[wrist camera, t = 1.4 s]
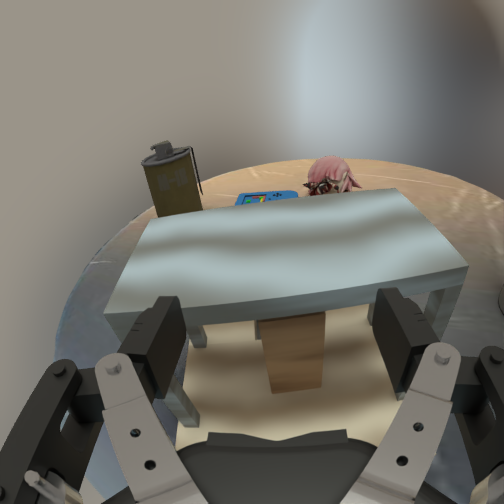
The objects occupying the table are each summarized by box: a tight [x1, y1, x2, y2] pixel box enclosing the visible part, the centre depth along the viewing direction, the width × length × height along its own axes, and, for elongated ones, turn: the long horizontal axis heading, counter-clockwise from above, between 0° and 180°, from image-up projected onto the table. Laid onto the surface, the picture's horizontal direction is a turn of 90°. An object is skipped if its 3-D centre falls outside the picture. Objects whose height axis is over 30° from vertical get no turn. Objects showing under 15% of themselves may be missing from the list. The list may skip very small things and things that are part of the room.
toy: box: [302, 156, 362, 196], centre depth 64 cm, size 12×11×15 cm
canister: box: [141, 141, 203, 218], centre depth 61 cm, size 11×10×20 cm
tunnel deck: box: [103, 188, 469, 455], centre depth 27 cm, size 28×24×20 cm
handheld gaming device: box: [235, 191, 298, 206], centre depth 73 cm, size 8×1×15 cm
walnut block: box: [258, 311, 326, 394], centre depth 27 cm, size 5×5×11 cm
